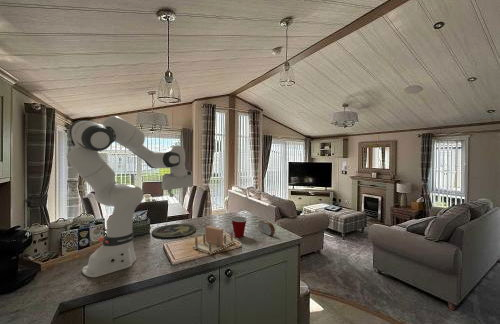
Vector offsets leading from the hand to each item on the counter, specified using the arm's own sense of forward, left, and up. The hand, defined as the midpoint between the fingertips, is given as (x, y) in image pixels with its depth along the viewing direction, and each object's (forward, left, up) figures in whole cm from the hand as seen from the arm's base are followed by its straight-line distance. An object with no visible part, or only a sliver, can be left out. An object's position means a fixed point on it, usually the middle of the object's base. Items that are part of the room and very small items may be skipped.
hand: (178, 195), depth 137 cm
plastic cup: (+31, -22, -29) cm, 48 cm away
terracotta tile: (+10, -20, -28) cm, 35 cm away
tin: (+45, -34, -29) cm, 64 cm away
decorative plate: (+13, +22, -30) cm, 39 cm away
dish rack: (+10, -20, -29) cm, 37 cm away
